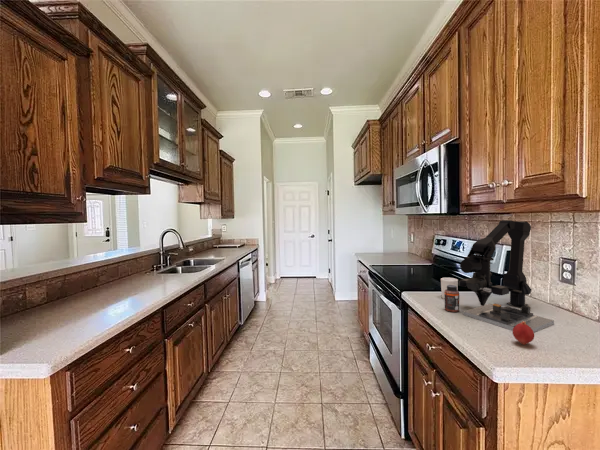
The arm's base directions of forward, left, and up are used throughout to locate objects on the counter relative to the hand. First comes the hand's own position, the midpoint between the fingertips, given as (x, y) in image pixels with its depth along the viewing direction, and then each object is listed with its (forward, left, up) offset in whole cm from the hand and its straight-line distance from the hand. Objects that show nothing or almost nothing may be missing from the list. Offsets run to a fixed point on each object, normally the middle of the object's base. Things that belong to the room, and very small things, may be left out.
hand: (482, 305), depth 127 cm
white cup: (-6, -20, -3) cm, 21 cm away
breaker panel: (0, +10, -3) cm, 10 cm away
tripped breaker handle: (0, +6, -1) cm, 6 cm away
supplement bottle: (+9, -8, -3) cm, 13 cm away
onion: (+19, +25, -3) cm, 31 cm away
